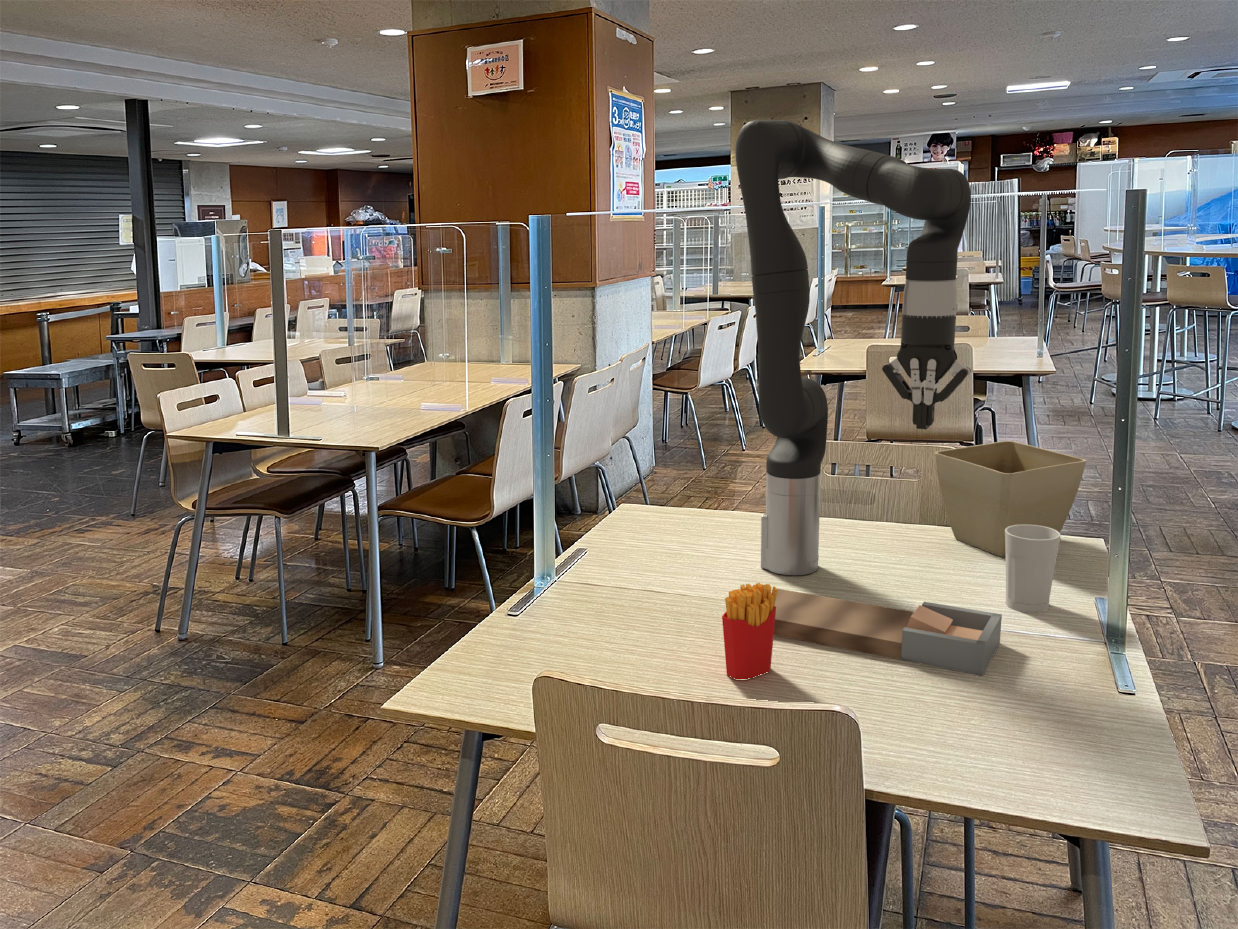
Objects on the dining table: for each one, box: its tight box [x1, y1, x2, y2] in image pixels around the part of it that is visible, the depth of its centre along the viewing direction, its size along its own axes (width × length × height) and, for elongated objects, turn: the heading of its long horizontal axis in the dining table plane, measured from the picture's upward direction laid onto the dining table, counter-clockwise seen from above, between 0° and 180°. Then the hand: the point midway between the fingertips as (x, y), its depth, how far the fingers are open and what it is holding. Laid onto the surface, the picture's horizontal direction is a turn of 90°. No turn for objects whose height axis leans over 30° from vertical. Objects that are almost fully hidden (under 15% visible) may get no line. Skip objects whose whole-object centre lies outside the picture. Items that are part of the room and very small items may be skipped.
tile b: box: [945, 625, 982, 640], centre depth 142 cm, size 5×5×2 cm
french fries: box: [721, 582, 779, 679], centre depth 137 cm, size 8×4×12 cm, turn 124°
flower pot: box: [934, 440, 1087, 557], centre depth 187 cm, size 19×19×17 cm
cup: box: [1005, 525, 1061, 614], centre depth 158 cm, size 8×8×12 cm
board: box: [774, 588, 915, 661], centre depth 152 cm, size 23×12×2 cm, turn 60°
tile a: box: [907, 604, 953, 634], centre depth 145 cm, size 5×5×2 cm
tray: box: [901, 601, 1003, 676], centre depth 143 cm, size 11×12×4 cm
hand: (923, 428), depth 152 cm, fingers closed
